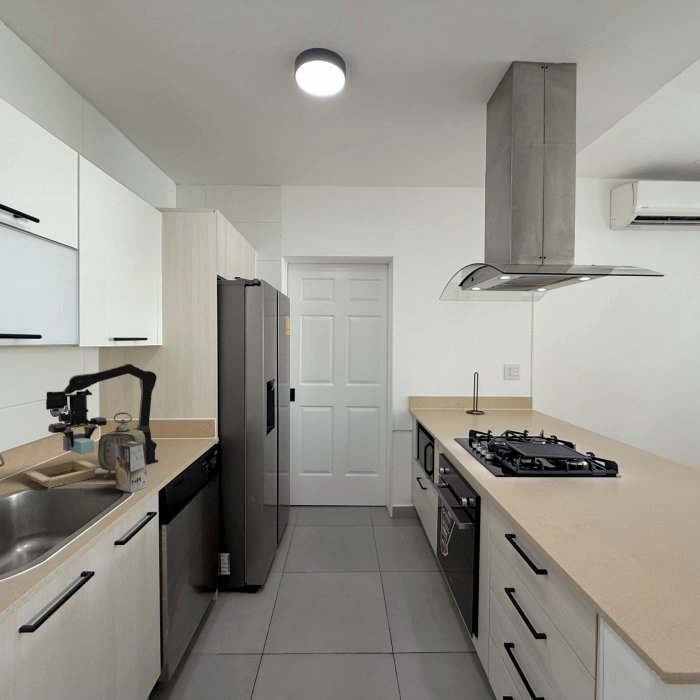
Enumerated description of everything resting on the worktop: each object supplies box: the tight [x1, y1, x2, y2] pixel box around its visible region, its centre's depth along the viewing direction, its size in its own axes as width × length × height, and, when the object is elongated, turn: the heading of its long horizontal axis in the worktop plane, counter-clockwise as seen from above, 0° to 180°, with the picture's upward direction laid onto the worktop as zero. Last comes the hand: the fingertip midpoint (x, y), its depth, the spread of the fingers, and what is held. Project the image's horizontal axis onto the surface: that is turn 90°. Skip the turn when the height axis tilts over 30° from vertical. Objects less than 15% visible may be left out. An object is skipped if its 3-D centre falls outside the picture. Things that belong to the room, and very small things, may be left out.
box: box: [62, 432, 95, 456], centre depth 160 cm, size 14×6×6 cm, turn 56°
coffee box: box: [115, 441, 147, 493], centre depth 145 cm, size 9×6×16 cm
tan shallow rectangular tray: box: [23, 459, 101, 490], centre depth 155 cm, size 21×19×4 cm
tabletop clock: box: [97, 412, 146, 479], centre depth 157 cm, size 14×9×25 cm, turn 92°
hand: (79, 446), depth 160 cm, fingers closed on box, 4 cm apart
